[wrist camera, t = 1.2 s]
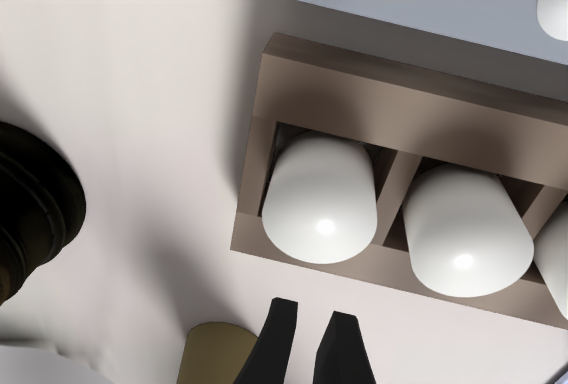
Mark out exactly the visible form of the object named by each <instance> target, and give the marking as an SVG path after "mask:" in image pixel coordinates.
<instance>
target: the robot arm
mask: <svg viewBox="0 0 568 384" xmlns="http://www.w3.org/2000/svg"><path fill="white" fill-rule="evenodd" d="M297 309H298V302H295V301H291V300H287V299H282V298H278V297H276V298H274V299H272V302H271V306H270V309H269V313H268V316H267V319H266V321H265V324H264V326H263V328H262V331H261V333H260V335H259V337H258V339H257V341H256V343H255V345H254V347H253V349H252V351H251V353H250V355H249V356H248V358H247V360H246V362H245V364H244V366H243V367H242V369H241V371H240V372H239V374H238V376H237V377H236V379H235V381H234V382H233V384H283V382H284V378H285V373H286V369H287V365H288V360H289V356H290V351H291V347H292V343H293V338H294V334H295V329H296V322H297ZM313 384H376V381H375V378H374V375H373V372H372V369H371V366H370V363H369V360H368V357H367V353H366V350H365V346H364V343H363V339H362V336H361V332H360V328H359V323H358V319H357V318H356V316H354V315H350V314H346V313H341V312H337V311H334V312H333V314H332V317H331V319H330V321H329V324H328V326H327V329H326V331H325V333H324V336H323V338H322V341H321V343H320V346H319V348H318V350H317V353H316V361H315V368H314V376H313ZM554 384H568V371H567V372H566V373H565V374H564V375H563V376H562V377H561V378H560V379H559V380H558V381H557V382H555V383H554Z"/></svg>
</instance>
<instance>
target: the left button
mask: <svg viewBox="0 0 568 384" xmlns="http://www.w3.org/2000/svg"><path fill="white" fill-rule="evenodd" d="M262 222H263V226H264V229H265V232H266V234H267V235H268V237H269V238H270V240H271V241H272V242H273V243H274V245H275V246H276V247H278V248H279V249H280V250H281V251H283V252H284V253H286V254H287V255H289V256H291V257H293V258H296V259H298V260H301V261H305V262H309V263H317V264H329V263H336V262H341V261H344V260H347V259H349V258H352V257H354V256H355V255H357V254H359V253H360V252H361V251H363V250H364V249H365V248H366V247H367V246H368V244H369V243H370V242H371V240H372V239H373V237H374V235H375V232H376V228H377V211H376V199H375V187H374V175H373V166H372V162H371V159H370V157H369V155H368V153H367V151H366V150H365V149H364V147H363V146H362V145H361V144H360V143H359V142H357V141H356V140H354V139H350V138H346V137H341V136H337V135H333V134H329V133H325V132H320V131H316V130H313V131H308V132H305V133H302V134H300V135H298V136H296V137H295V138H293V139H291V140H290V141H289V142H288V143H287V144H286V145H285V146H284V147H283V149H282V150H281V152H280V153H279V155H278V158H277V161H276V165H275V168H274V171H273V175H272V178H271V182H270V185H269V189H268V192H267V196H266V199H265V202H264V206H263V210H262Z"/></svg>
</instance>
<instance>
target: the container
mask: <svg viewBox="0 0 568 384" xmlns="http://www.w3.org/2000/svg"><path fill="white" fill-rule="evenodd" d="M85 214H86V201H85V197H84V192H83V189H82V187H81V185H80V183H79V181H78V179H77V177H76V175H75V174H74V172H73V171H72V169H71V168H70V166H69V165H68V164H67V163H66V162H65V160H64V159H63V158H62V157H61V156H60V155H59V154H58V153H57V152H56V151H54V150H53V149H52V148H51V147H50V146H49V145H47V144H46V143H45V142H43V141H42V140H40V139H39V138H37V137H36V136H34V135H33V134H31V133H29V132H27V131H25V130H23V129H21V128H19V127H16V126H14V125H11V124H8V123H5V122H1V121H0V306H1V305H2V304H3V303H4V302H5V301H6V300H8V299H10V298H11V297H12V296H13V295H15V294H16V293H17V292H18V290H19V289H20V288H21V287H22V285H23V283H24V282H25V280H26V279H27V277H28V276H29V275H30V274H31V273H32V272H33V271H34V270H35V269H36V268H37V267H39V266H40V265H43V264H45V263H47V262H49V261H51V260H52V259H53V258H54V257H56V256H57V255H58V254H59V252H60V251H61V249H62V248H63V247H65V246H66V245H67V244H69V243H70V242H71V241H72V240H73V239H74V238H75V237H76V236H77V235H78V233H79V231H80V229H81V227H82V225H83V222H84V219H85Z"/></svg>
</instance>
